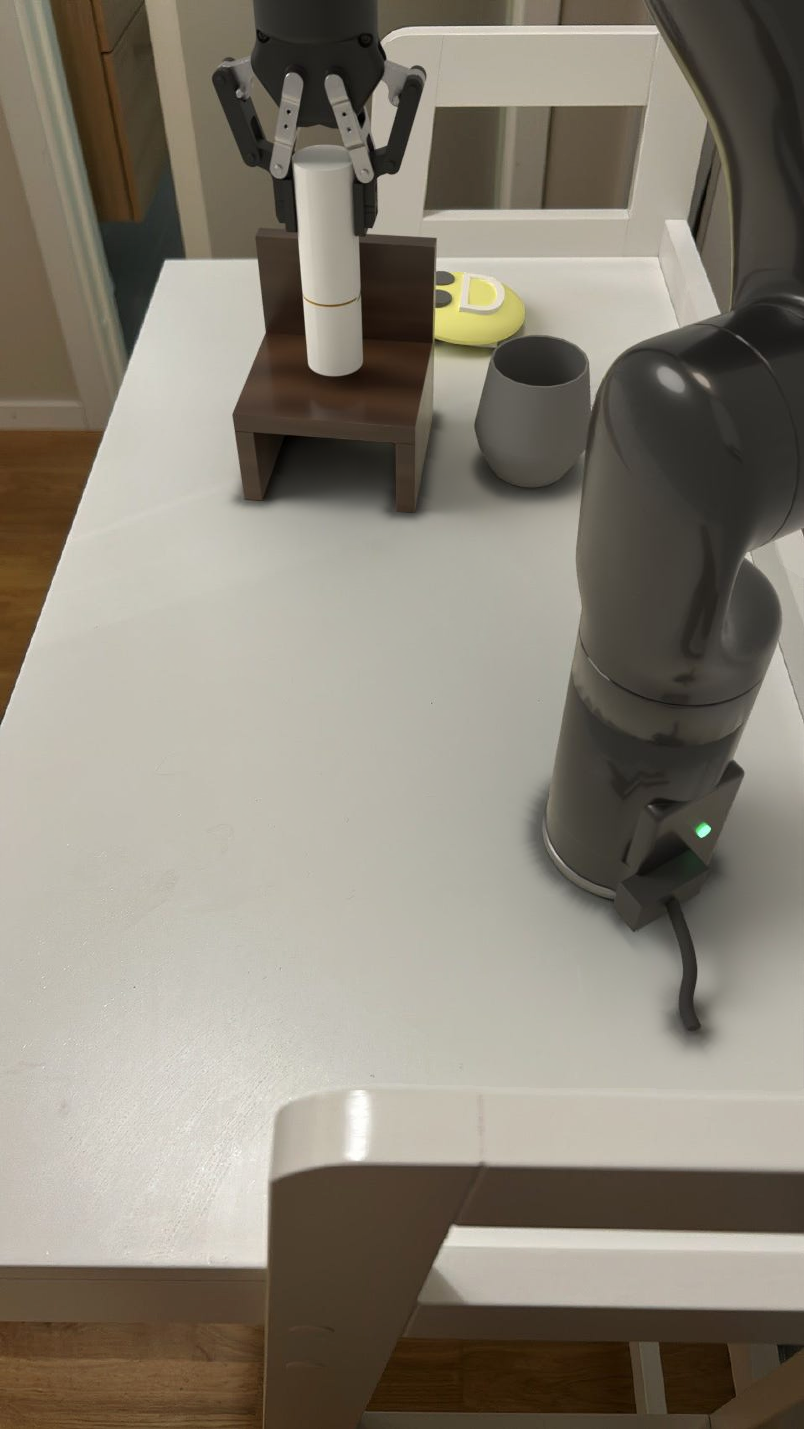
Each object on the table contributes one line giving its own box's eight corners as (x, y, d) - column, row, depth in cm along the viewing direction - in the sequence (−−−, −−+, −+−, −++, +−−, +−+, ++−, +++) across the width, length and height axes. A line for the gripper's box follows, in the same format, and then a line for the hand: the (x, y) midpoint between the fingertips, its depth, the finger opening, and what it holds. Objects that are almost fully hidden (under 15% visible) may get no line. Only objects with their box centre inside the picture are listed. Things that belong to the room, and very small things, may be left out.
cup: (605, 484, 86) (625, 376, 79) (507, 515, 84) (517, 406, 76) (547, 424, 92) (560, 318, 84) (453, 451, 89) (457, 344, 82)
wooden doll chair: (414, 513, 84) (416, 328, 72) (244, 499, 85) (217, 315, 73) (432, 417, 93) (436, 237, 81) (278, 406, 94) (259, 227, 82)
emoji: (529, 265, 104) (409, 251, 104) (527, 329, 96) (397, 313, 96) (523, 302, 107) (406, 288, 107) (520, 367, 99) (394, 352, 99)
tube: (343, 382, 79) (332, 176, 68) (297, 366, 81) (279, 162, 69) (373, 356, 82) (368, 153, 70) (328, 341, 83) (315, 140, 72)
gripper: (174, -52, 59) (216, 249, 72) (426, -44, 58) (422, 261, 71) (207, -87, 64) (241, 201, 77) (440, -80, 62) (434, 212, 75)
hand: (328, 228), depth 73 cm, fingers closed on tube, 4 cm apart
